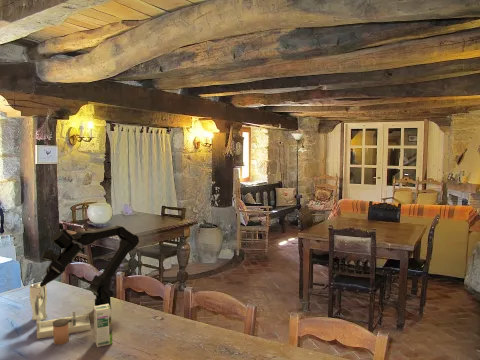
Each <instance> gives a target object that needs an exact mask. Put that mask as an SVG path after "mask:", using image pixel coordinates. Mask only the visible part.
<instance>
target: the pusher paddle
mask: <svg viewBox="0 0 480 360" xmlns="http://www.w3.org/2000/svg"><path fill="white" fill-rule="evenodd" d="M75 316H76V311H72V317H73V326H75V325H76V318H75ZM69 322H72V319H71V320H69Z"/></svg>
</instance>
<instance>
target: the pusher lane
mask: <svg viewBox="0 0 480 360" xmlns="http://www.w3.org/2000/svg"><path fill="white" fill-rule="evenodd" d="M89 315H90V314H89V313H87V314H81V315H75V318H76V325H75V326H73V316H69V317H62V318H56V319H55V318H54V319H49V320H42V321H41V318H40V315H38V316H37V321H36V338H37V340H38V339H39V340H40V339H45V338H50V337H54V333H53V322H54V321H55V320H58V319H68V320H71V319H72V322H69V323H68V324H69V334H75V333H79V332H86V331H91V321H90V316H89Z"/></svg>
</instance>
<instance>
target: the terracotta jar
mask: <svg viewBox="0 0 480 360" xmlns="http://www.w3.org/2000/svg"><path fill="white" fill-rule="evenodd" d="M57 319H58V320H55V321H54V322H53V333H54V336H53V343H54V345H65V344H67V343H68V342H69V341H70V333H69V324H68V323H69V320H68V319H60V318H57Z"/></svg>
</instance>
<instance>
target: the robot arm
mask: <svg viewBox="0 0 480 360" xmlns="http://www.w3.org/2000/svg"><path fill="white" fill-rule="evenodd" d="M116 236H117V237H118V239H120V241H119V245H118V246H119V247H118V249H117V251H116V252H115V253H114V255H113V257H112V258H111V260H110V261H109V262H108V264H107V266H106V267H105V268H104V270H103V272H102V273H101V274H99V275H97V274H95V275H94V277H93V278H92V280H91V281H90V284H89V290H90V292H91V293H92V294H93V296H95V298H94V306H99V305H104V304H109V305H110V308H111V309H112V305H111V298H112V297H113V295H114V291H113V290H111V289H110V287H111V282H112V278H113V277H114V275H115V274H116V272H117V271H118V270H119V269H118V268H119V267H120V266H121V265H122V263H123V262H124V260H125V259H126V257H127V256H128V254H129V253H130V252H131V251H134V249H135V248H136V247H138V245H139V243H140V238H139V236H138V235H137V234H133V233H132V232H131V231H129V229H126V228H125V227H124V226H122V225H115V226H111V227H106V228H102V229H96V230H78V231H76V233H73V234H70V233H69V232H68V230H66V229H65V228H61V230H59V231H57V232H55V233H54V234H52V236H51V237H50V242H51V241H52V243H53V244H55V245H56V246H57V247H58V248H59V249H61V250H62V249H63V251H61V252H59V253H57V254H56V253H54V249H48V250H44V251H43V253H42V255H41V257H40V260H43V261H47V262H50V263H49V265H48V267H46V269H45V272H46V273H45V276H44V277H43V278H42V280H41V282H40V283H41V284H40V286H41V287H42V286H44V285H46V286H47V284H50V283H51V282H53V281H54V280H56V279H58V278H59V277H60V276H61V275H62V274H64V272H65V271H66V268H68V266H69V265H70V264H71V263H72V261H73V260H74V259H75V258H76V257H77V256H78V255H79V254H80V253H81V254H83V255H84V254H85V253H86V252H85V247H84V246H89V245H91V244H94V243H95V242H96V241H99V240H103V239H107V238H111V237H116ZM74 242H75V243H74ZM80 245H82V246H80Z"/></svg>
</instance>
